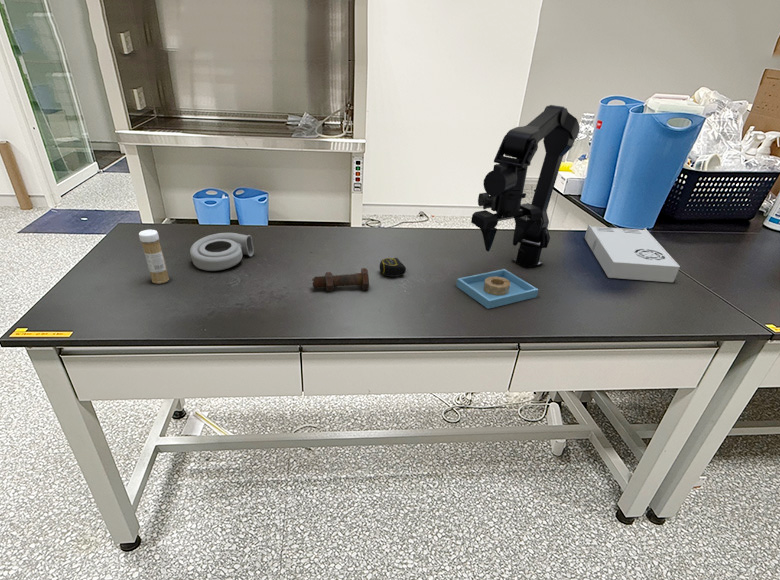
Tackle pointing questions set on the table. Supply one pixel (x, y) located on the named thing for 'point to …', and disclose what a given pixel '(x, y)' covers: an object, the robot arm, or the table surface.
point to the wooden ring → (496, 285)
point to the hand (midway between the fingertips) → (501, 248)
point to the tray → (516, 293)
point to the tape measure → (392, 267)
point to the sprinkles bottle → (154, 256)
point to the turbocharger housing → (221, 251)
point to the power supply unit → (631, 254)
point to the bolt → (342, 280)
